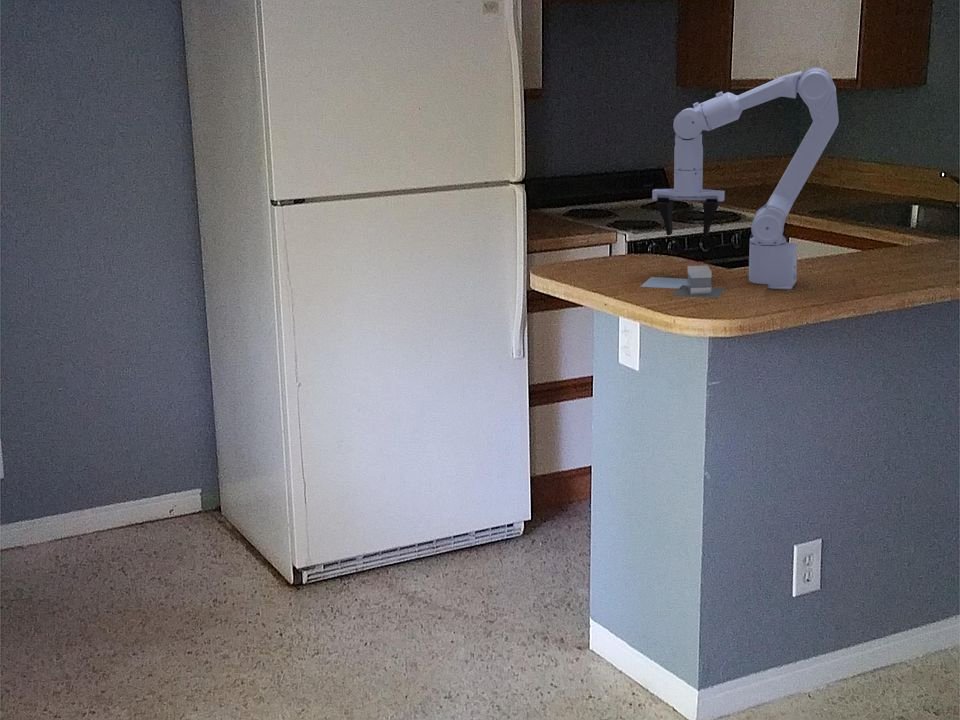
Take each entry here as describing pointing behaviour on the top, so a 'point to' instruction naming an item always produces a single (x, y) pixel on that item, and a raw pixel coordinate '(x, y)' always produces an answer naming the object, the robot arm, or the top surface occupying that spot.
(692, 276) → the block
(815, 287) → the top surface
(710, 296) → the stand
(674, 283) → the stand
